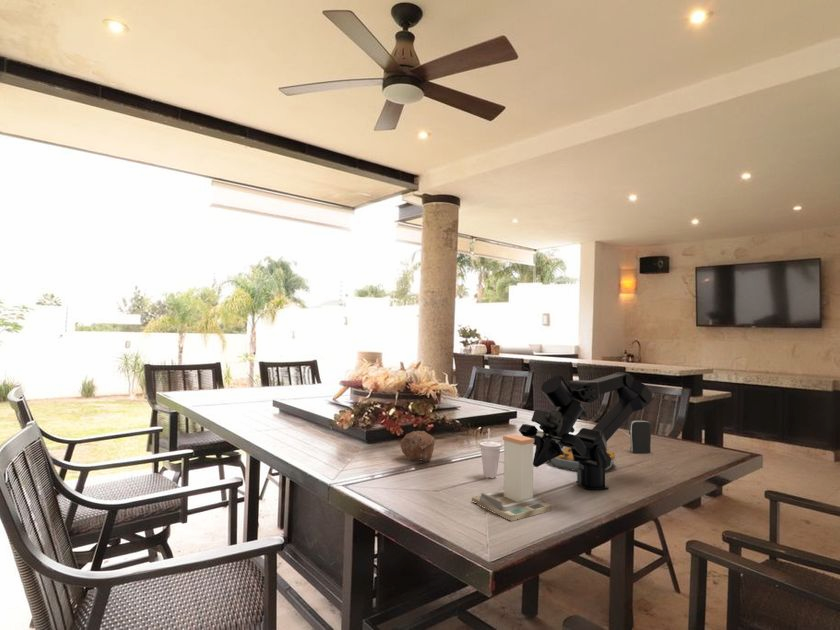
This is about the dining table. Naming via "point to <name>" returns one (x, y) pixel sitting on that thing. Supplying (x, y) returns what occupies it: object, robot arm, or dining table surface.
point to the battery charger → (640, 436)
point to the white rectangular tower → (518, 467)
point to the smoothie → (490, 456)
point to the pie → (568, 459)
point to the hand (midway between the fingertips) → (534, 465)
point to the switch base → (511, 505)
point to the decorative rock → (418, 445)
